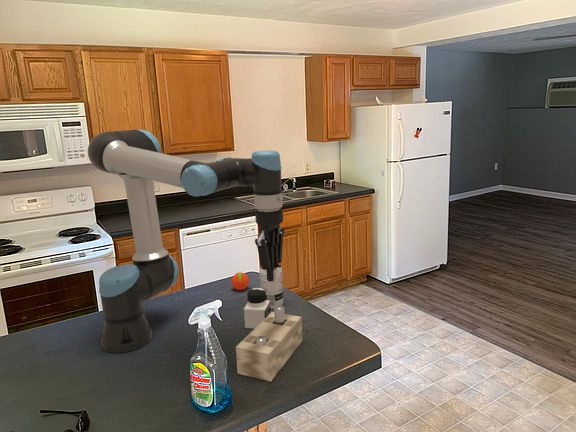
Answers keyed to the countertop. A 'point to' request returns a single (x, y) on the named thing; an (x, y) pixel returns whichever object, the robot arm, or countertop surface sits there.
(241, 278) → the tomato
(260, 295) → the medicine bottle
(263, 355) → the pin block
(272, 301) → the supplement can
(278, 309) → the pin
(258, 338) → the pin
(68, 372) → the countertop surface
